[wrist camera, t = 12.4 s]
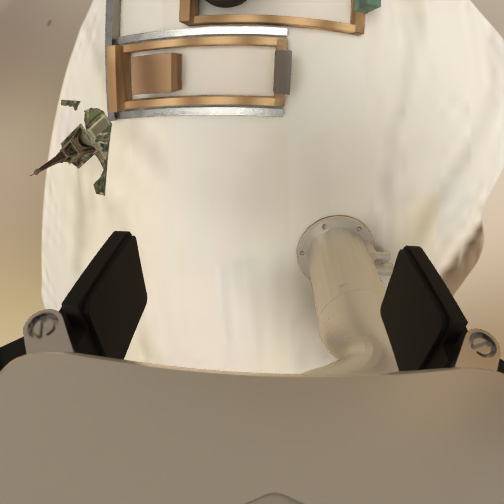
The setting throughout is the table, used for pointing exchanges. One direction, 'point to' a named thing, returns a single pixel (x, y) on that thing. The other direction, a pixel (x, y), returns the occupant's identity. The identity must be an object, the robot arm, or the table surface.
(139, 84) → the walnut block
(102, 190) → the eiffel tower figurine
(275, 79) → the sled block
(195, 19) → the brown low piece
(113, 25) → the lane frame
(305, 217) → the table surface
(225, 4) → the travel mug
